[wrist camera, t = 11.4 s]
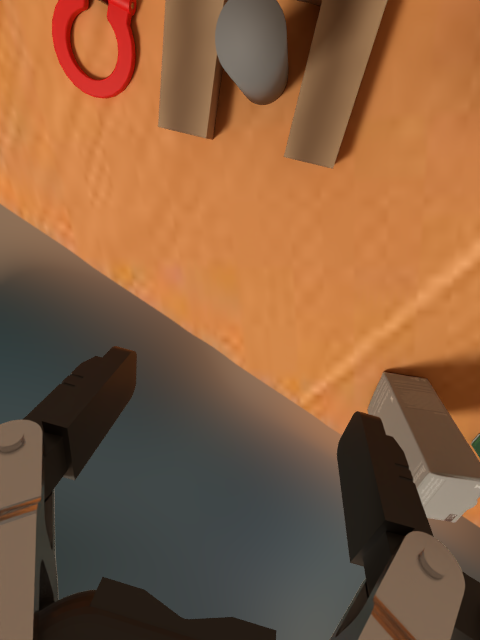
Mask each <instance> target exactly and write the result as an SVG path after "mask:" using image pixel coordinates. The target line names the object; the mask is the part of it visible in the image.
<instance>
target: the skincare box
mask: <svg viewBox="0 0 480 640" xmlns="http://www.w3.org/2000/svg"><path fill="white" fill-rule="evenodd" d="M368 413H369V414H370V415H373V416H377V417H380V418H381V420H382V423H383V426H384V430H385V433H386V435H389V436H392V437H394V439H395V440H396V442H397V443H398V444H399V446H400V447H401V448H402V450H403V451H404V454H405V456H406V459H407V462H408V465H409V470H410V471H411V474H412V476H413V479H414V480H413V483H415V485H416V488H417V491H418V494H419V497H420V499H421V502H422V505H423V508H424V511H425V514H426V517H427V518H432V519H437V520H444V521H450V522H456V521H457V520H458V519H459V517H461V516H462V515H463V513H464V512H465V511H466V510H468V509H471V508H472V507H474V506H475V505H476V504H477V499H478V498H479V497H480V462H479V460H478V459H477V457H476V456H475V454H474V452H473V451H472V449H471V448H470V446H469V444H468V443H467V441H466V440H465V438H464V436H463V435H462V433H461V432H460V430H459V429H458V427H457V425H456V424H455V422H454V421H453V419H452V417H451V416H450V414H449V413H448V411H447V409H446V408H445V406H444V405H443V403H442V401H441V400H440V398H439V397H438V395H437V393H436V392H435V390H434V389H433V387H432V385H431V384H430V382H429V381H428V379H425V378H420V377H412V376H405V375H399V374H393V373H387V372H383V374H382V377H381V379H380V381H379V383H378V385H377V387H376V390H375V392H374V394H373V397H372V399H371V402H370V404H369V407H368Z"/></svg>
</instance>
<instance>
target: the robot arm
mask: <svg viewBox="0 0 480 640" xmlns="http://www.w3.org/2000/svg"><path fill="white" fill-rule="evenodd" d="M136 361H137V355H136V352H135V351H132V350H128V349H124V348H120V347H117V346H114V347H112V348H111V349H110V350H109V351H108V352H107V354H105V355H104V356H103V358H101V357H98V356H95V357H93V358H91V359H89V360H87V361H85V362H83V363H81V364H80V365H79V366H78V367H77V368H76V369H75V370H74V371H73V372H72V373H71V375H70V376H68V377H67V378H65V379H64V380H63V381H62V384H59V385H58V386H57V387H56V388H55V389H54V390H53V391H52V392H51V393H50V394H49V395H48V396H47V397H46V398H45V399H44V400H43V401H42V402H41V403H40V404H39V405H37V407H35V408H34V410H32V411H31V412H30V413H29V414H28V415H27V416H26V417H25V418H24V419H23V420H14V421H9V422H6V423H3V424H1V425H0V640H276V630H273V629H269V628H266V627H263V626H259V625H256V624H253V623H250V622H247V621H244V620H240V619H237V618H233V617H225V618H206V619H184V618H181V617H180V616H178V615H177V614H176V613H174V612H173V611H172V610H170V609H169V608H168V607H167V606H165V605H164V604H163V603H161V602H160V601H159V600H157V599H156V598H154V597H153V596H152V595H150V594H149V593H148V592H147V591H145V590H143V589H140V588H137V587H133V586H130V585H127V584H124V583H121V582H117V581H114V580H111V579H108V578H104V577H102V580H101V582H100V584H99V586H98V588H97V590H88V591H83V592H79V593H76V594H73V595H70V596H67V597H64V598H63V599H60V600H58V581H57V569H56V558H55V503H54V502H55V501H54V500H55V499H54V488H55V486H56V485H57V484H58V482H59V481H60V480H61V478H62V477H65V478H69V479H72V480H75V479H76V478H77V476H78V475H79V474H80V472H81V471H82V469H83V468H84V466H85V465H86V463H87V462H88V460H89V459H90V457H91V456H92V455H93V453H94V452H95V450H96V449H97V447H98V446H99V444H100V443H101V441H102V440H103V439H104V437H105V436H106V434H107V433H108V431H109V430H110V428H111V427H112V425H113V424H114V422H115V421H116V419H117V418H118V417H119V415H120V413H121V412H122V411H123V409H124V408H125V406H126V405H127V403H128V402H129V401H130V399H131V397H132V395H133V393H134V390H135V386H136V363H137V362H136ZM337 460H338V468H339V476H340V484H341V492H342V500H343V508H344V516H345V523H346V533H347V540H348V548H349V557H350V563H353V564H357V565H360V566H364V569H365V575H366V579H365V580H364V581H363V583H362V584H361V586H360V588H359V589H358V591H357V593H356V595H355V596H354V598H353V600H352V602H351V604H350V605H349V607H348V609H347V610H346V612H345V614H344V615H343V617H342V619H341V621H340V622H339V624H338V626H337V628H336V630H335V631H334V633H333V634H332V637H331V638H330V639H329V640H480V583H479V582H478V581H476V580H475V579H473V578H471V577H469V576H468V575H466V574H465V573H464V572H462V570H461V568H460V566H459V564H458V562H457V561H456V559H455V558H454V556H453V555H452V554H451V552H450V551H449V550H448V549H447V548H446V547H445V546H444V545H443V544H442V543H441V542H440V541H438V540H437V539H436V538H434V536H433V534H432V531H431V528H430V525H429V523H428V520H427V517H426V514H425V511H424V508H423V505H422V502H421V499H420V497H419V494H418V491H417V488H416V485H415V483H413V480H414V479H413V476H412V474H411V471H410V470H409V465H408V462H407V459H406V456H405V454H404V451H403V450H402V448H401V447H400V446H399V444H398V443H397V442H396V440H395V439H394V437H392V436H389V435H386V433H385V430H384V426H383V423H382V420H381V418H380V417H377V416H373V415H370V414H366V413H362V412H358V411H357V412H355V413H354V415H353V416H352V418H351V420H350V422H349V424H348V425H347V427H346V429H345V431H344V433H343V435H342V437H341V438H340V441H339V444H338V449H337Z"/></svg>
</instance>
